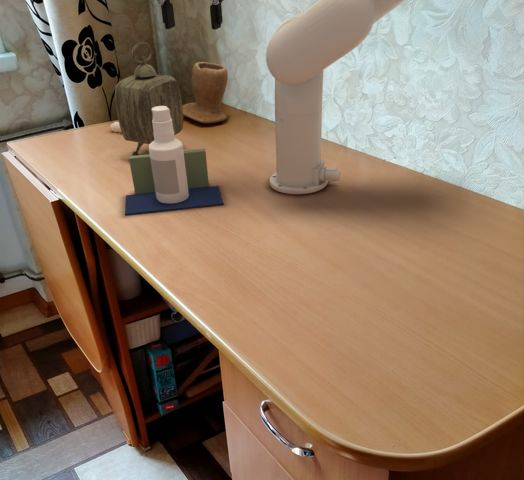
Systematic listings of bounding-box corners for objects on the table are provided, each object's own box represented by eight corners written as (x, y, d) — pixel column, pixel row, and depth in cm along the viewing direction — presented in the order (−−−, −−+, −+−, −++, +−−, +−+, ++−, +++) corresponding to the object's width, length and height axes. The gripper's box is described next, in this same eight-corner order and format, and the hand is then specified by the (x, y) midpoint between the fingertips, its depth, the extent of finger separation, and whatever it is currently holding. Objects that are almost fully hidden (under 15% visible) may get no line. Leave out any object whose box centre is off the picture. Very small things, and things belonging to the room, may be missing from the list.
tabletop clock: (162, 142, 152) (147, 36, 136) (189, 147, 148) (177, 38, 133) (125, 159, 142) (104, 47, 127) (153, 165, 138) (135, 50, 123)
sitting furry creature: (139, 123, 166) (132, 79, 159) (155, 129, 161) (148, 83, 153) (110, 131, 162) (101, 85, 154) (125, 137, 156) (116, 90, 149)
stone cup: (238, 121, 164) (234, 63, 155) (201, 129, 159) (195, 70, 150) (213, 110, 175) (208, 55, 165) (177, 117, 170) (170, 61, 161)
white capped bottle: (154, 194, 123) (140, 105, 112) (185, 189, 124) (174, 101, 113) (159, 206, 117) (145, 115, 106) (192, 201, 119) (181, 110, 108)
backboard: (209, 187, 126) (205, 151, 121) (135, 195, 124) (128, 158, 119) (208, 185, 127) (204, 148, 122) (135, 192, 125) (128, 156, 120)
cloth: (223, 205, 118) (223, 203, 118) (125, 215, 116) (124, 213, 115) (218, 187, 125) (218, 185, 125) (126, 196, 123) (125, 195, 123)
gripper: (236, -87, 100) (242, 25, 110) (147, -82, 105) (161, 24, 115) (220, -86, 94) (228, 32, 105) (127, -81, 99) (143, 31, 109)
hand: (193, 28), depth 110 cm, fingers open, 9 cm apart
